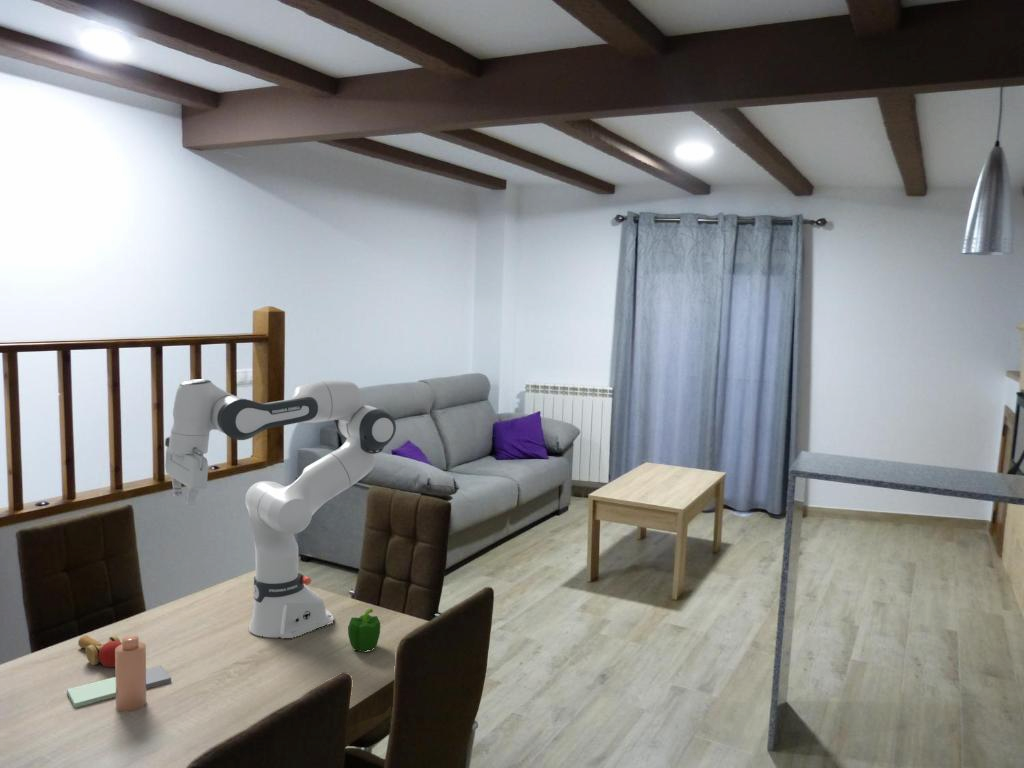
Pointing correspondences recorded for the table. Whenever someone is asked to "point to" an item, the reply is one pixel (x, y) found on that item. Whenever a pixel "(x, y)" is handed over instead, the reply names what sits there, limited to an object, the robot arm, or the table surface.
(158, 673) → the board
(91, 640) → the kendama
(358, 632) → the bell pepper
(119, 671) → the bottle
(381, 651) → the table surface
